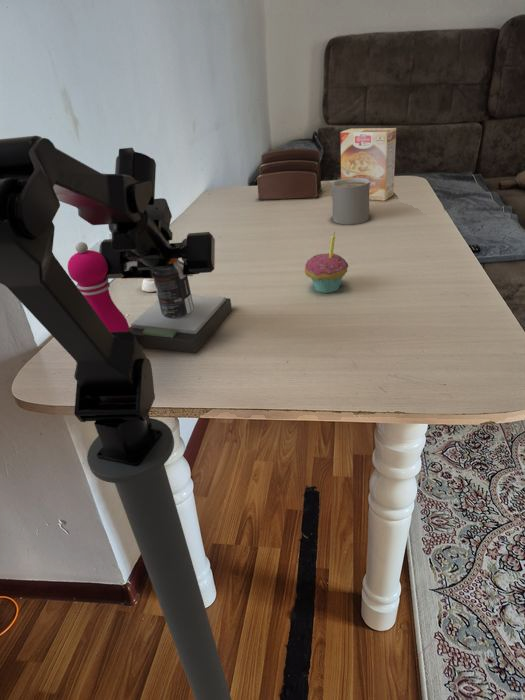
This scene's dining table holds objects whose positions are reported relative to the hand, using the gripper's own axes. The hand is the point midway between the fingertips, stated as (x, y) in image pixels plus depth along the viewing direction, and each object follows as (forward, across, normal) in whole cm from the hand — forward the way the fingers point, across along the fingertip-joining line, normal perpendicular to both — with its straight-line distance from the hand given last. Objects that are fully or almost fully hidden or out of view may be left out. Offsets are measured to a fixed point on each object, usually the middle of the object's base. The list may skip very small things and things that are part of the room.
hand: (172, 274), depth 86 cm
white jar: (+19, +11, -5) cm, 22 cm away
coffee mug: (+48, -36, -34) cm, 69 cm away
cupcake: (+16, -27, -1) cm, 32 cm away
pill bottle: (+4, 0, +6) cm, 7 cm away
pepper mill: (-7, +10, +7) cm, 14 cm away
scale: (+6, 0, +8) cm, 10 cm away
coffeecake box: (+62, -42, -48) cm, 90 cm away
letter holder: (+69, -18, -55) cm, 89 cm away
